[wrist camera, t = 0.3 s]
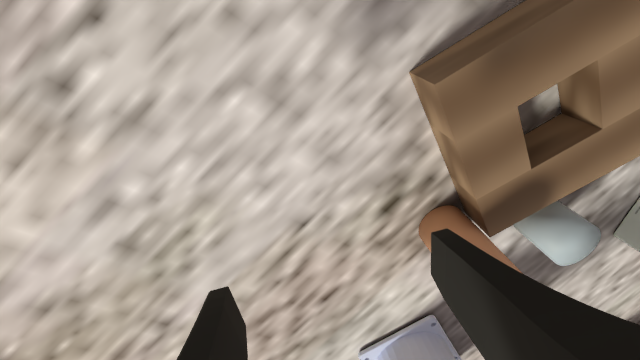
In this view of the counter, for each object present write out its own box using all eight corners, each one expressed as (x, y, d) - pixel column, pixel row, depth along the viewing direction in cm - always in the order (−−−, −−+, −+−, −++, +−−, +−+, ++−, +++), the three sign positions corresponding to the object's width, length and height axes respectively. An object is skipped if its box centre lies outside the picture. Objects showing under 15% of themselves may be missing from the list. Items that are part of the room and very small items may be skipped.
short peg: (557, 217, 27) (602, 249, 24) (517, 238, 28) (555, 273, 24) (551, 186, 25) (599, 216, 22) (509, 209, 26) (549, 242, 22)
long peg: (468, 228, 26) (548, 313, 19) (427, 251, 26) (491, 342, 19) (455, 196, 24) (538, 278, 17) (411, 221, 24) (476, 310, 18)
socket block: (615, 128, 24) (660, 144, 21) (464, 212, 25) (490, 237, 22) (607, -51, 18) (669, -58, 15) (409, 72, 19) (434, 84, 16)
